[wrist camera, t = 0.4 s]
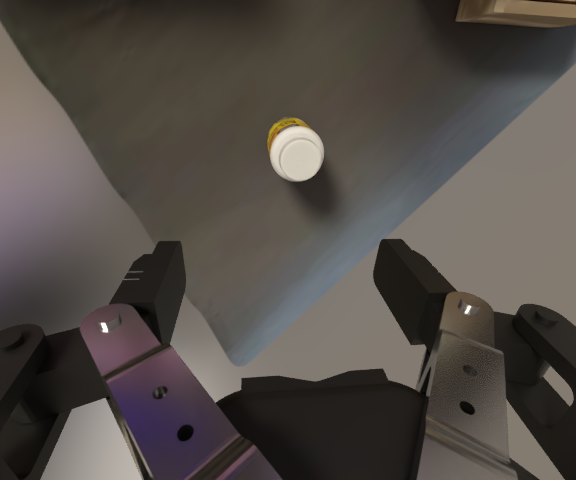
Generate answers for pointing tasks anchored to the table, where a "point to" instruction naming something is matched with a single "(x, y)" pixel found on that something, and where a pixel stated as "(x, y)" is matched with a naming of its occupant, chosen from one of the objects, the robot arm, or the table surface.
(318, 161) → the supplement bottle
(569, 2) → the lid
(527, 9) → the wooden box
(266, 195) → the table surface
